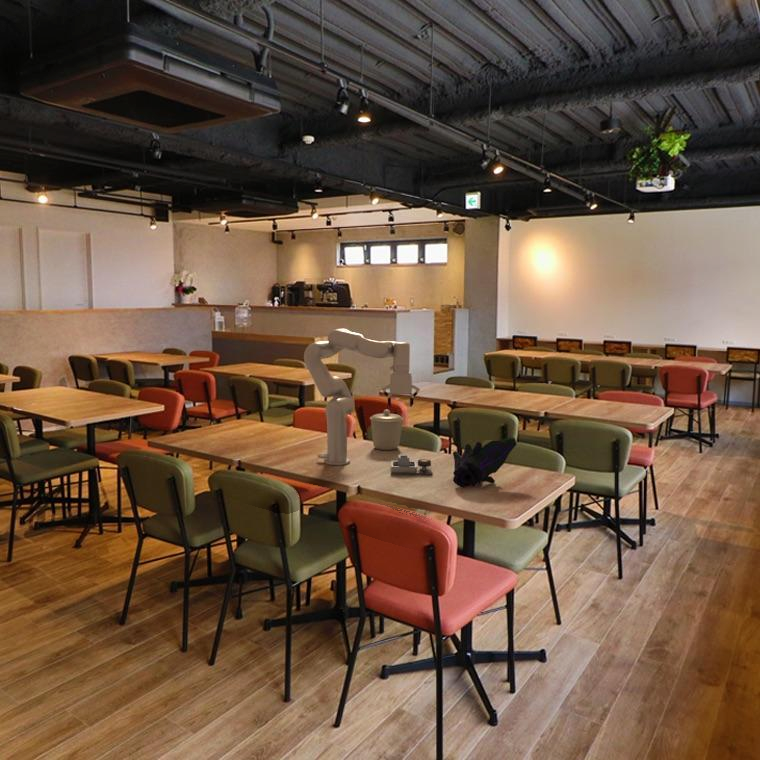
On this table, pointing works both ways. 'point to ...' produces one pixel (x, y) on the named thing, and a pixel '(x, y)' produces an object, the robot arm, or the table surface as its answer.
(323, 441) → the table surface
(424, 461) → the wheel
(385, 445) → the canister
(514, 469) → the table surface
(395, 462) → the chassis
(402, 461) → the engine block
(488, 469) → the decorative plant
